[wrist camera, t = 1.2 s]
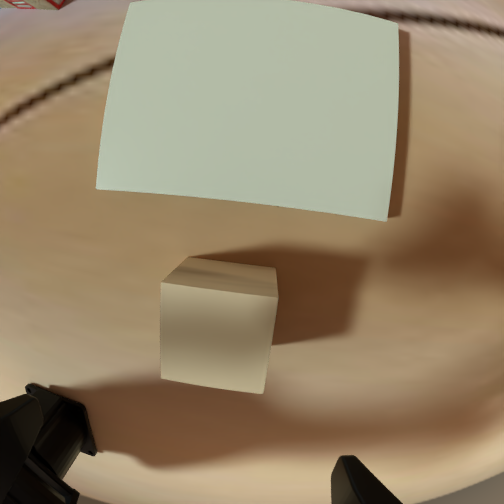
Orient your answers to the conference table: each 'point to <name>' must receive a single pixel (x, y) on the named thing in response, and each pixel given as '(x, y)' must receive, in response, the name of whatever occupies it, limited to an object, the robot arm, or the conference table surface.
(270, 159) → the sage board
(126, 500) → the conference table surface
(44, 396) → the robot arm
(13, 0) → the stack of blocks
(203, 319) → the beige cube
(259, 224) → the conference table surface
